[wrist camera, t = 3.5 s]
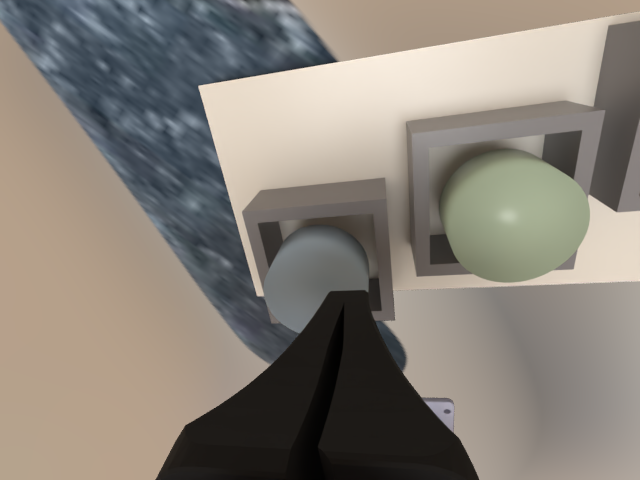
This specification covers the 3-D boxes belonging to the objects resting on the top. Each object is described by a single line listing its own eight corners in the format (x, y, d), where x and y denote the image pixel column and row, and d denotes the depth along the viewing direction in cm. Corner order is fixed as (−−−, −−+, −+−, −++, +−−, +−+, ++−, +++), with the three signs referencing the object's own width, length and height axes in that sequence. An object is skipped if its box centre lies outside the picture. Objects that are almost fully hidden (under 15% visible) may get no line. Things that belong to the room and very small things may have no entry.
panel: (716, 255, 18) (819, 316, 14) (266, 278, 23) (241, 328, 19) (827, -21, 13) (1045, -59, 9) (215, 83, 18) (165, 91, 14)
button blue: (373, 302, 17) (372, 336, 15) (287, 305, 18) (275, 337, 16) (364, 220, 15) (362, 246, 13) (268, 228, 16) (252, 253, 14)
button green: (548, 247, 15) (577, 279, 13) (438, 254, 16) (448, 285, 13) (565, 141, 13) (602, 158, 11) (438, 155, 14) (450, 173, 11)
